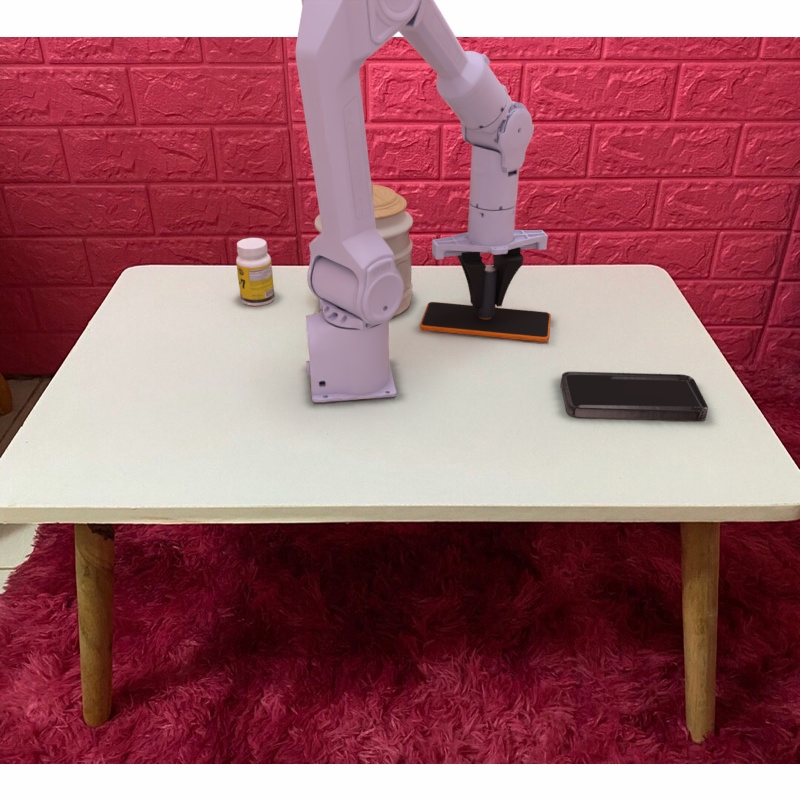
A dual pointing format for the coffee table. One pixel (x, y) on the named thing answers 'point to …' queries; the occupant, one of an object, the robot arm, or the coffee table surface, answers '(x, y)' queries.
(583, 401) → the phone
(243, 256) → the supplement bottle
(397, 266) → the jar
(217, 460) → the coffee table surface
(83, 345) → the coffee table surface
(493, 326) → the smartphone
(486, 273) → the lipstick
